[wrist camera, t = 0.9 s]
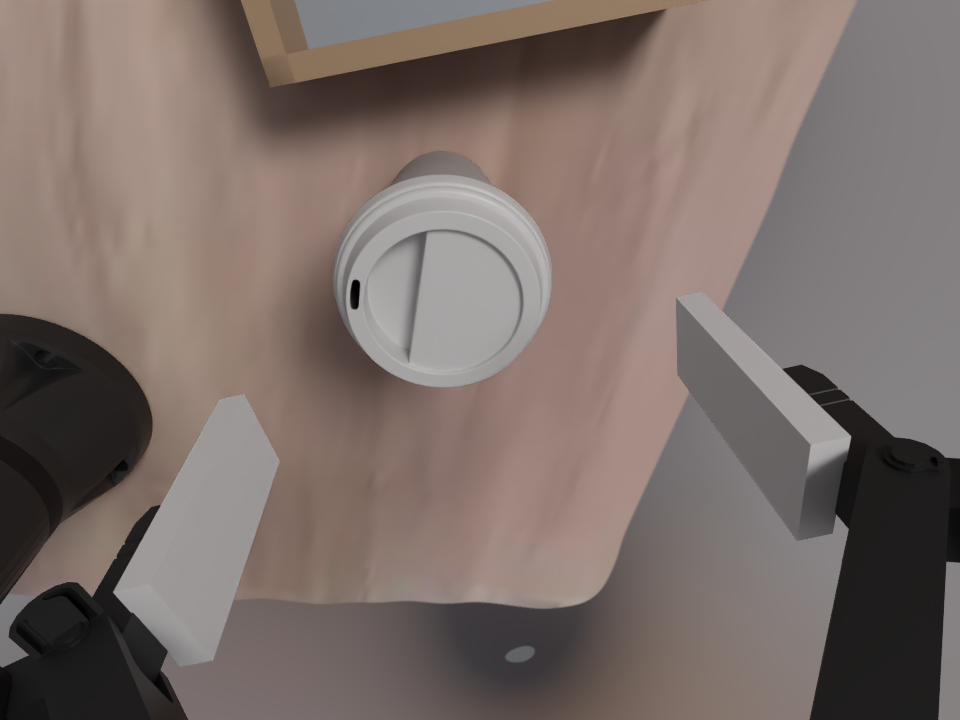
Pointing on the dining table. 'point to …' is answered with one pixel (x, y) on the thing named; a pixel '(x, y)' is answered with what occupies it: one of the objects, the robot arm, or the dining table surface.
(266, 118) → the dining table surface
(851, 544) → the robot arm
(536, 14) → the tray
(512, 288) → the coffee cup
